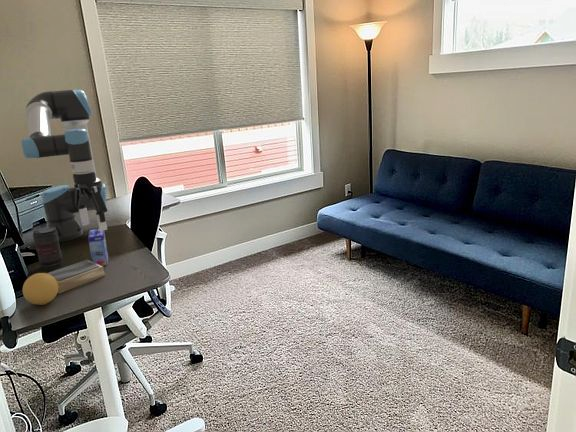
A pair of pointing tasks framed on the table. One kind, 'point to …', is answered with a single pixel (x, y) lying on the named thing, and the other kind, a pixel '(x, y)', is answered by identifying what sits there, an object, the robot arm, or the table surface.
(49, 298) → the stress ball
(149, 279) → the table surface
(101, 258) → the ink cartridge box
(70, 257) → the table surface
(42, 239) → the dark lidded jar
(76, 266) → the plinth
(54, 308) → the table surface
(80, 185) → the robot arm
